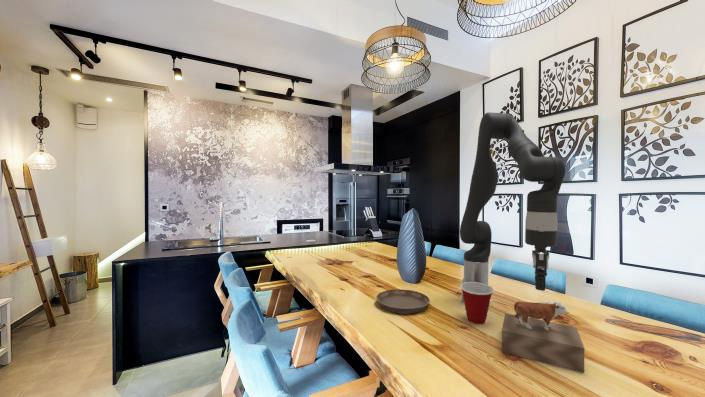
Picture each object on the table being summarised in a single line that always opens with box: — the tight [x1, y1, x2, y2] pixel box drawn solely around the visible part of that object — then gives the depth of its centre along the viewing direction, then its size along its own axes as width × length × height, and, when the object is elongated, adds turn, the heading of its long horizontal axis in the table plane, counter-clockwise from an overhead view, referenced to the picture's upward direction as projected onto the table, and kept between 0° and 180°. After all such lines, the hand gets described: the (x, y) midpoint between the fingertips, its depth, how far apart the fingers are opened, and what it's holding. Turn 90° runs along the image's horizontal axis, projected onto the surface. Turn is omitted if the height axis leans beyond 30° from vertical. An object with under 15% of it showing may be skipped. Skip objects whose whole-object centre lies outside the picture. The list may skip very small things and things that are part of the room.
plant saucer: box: [375, 288, 431, 315], centre depth 114 cm, size 21×21×3 cm
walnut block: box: [501, 313, 586, 374], centre depth 81 cm, size 18×14×6 cm
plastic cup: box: [459, 282, 495, 325], centre depth 100 cm, size 11×11×12 cm
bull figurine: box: [513, 300, 570, 331], centre depth 81 cm, size 4×13×8 cm, turn 75°
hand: (539, 285), depth 81 cm, fingers open, 8 cm apart
